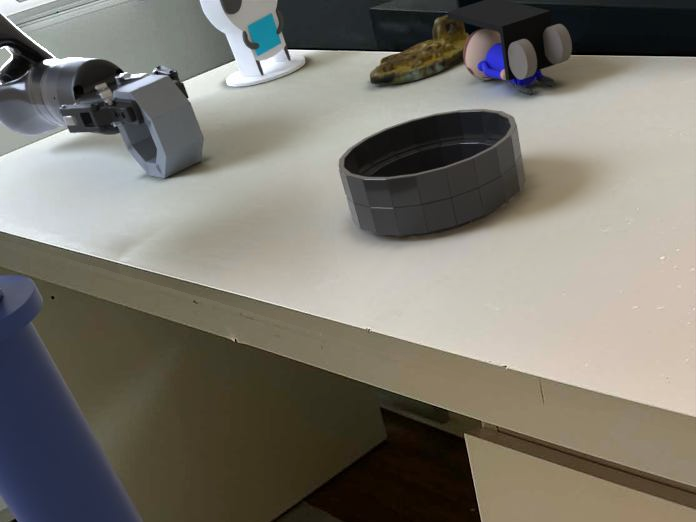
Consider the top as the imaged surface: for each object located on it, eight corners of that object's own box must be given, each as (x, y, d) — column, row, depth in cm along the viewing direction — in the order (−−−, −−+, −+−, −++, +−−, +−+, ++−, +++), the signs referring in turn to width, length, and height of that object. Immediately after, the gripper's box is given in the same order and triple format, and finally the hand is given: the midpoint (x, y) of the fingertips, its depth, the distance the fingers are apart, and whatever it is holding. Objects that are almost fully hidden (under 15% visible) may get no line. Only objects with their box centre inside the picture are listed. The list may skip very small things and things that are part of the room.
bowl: (386, 259, 75) (369, 195, 71) (335, 209, 85) (318, 151, 82) (555, 197, 77) (546, 132, 73) (485, 156, 88) (474, 97, 84)
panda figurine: (266, 86, 125) (223, -50, 114) (207, 89, 130) (160, -41, 120) (321, 56, 131) (285, -76, 121) (262, 60, 137) (223, -66, 126)
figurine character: (580, 96, 100) (500, 63, 108) (576, 14, 94) (492, -13, 103) (528, 117, 98) (452, 83, 107) (521, 35, 92) (441, 6, 101)
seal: (399, 101, 110) (493, 56, 116) (391, 56, 107) (488, 12, 112) (353, 86, 116) (444, 43, 121) (343, 43, 112) (438, 1, 117)
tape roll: (137, 173, 107) (101, 90, 101) (173, 156, 109) (140, 73, 103) (176, 180, 102) (140, 93, 96) (213, 162, 104) (180, 76, 98)
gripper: (15, 81, 104) (85, 87, 94) (125, 38, 110) (201, 39, 100) (50, 153, 109) (119, 166, 99) (152, 108, 115) (228, 116, 105)
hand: (160, 102), depth 99 cm, fingers closed on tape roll, 5 cm apart
